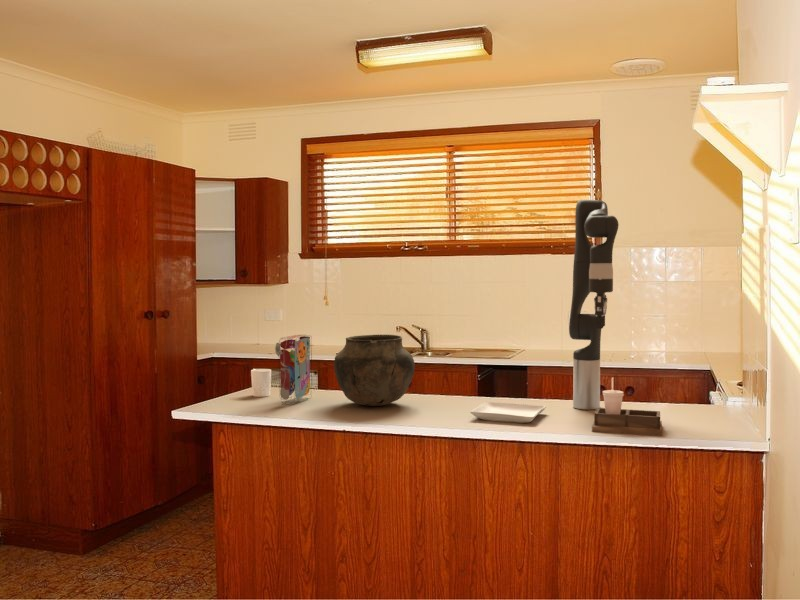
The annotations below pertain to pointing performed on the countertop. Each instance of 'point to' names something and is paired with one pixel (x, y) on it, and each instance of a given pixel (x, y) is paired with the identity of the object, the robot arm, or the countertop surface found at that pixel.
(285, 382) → the box
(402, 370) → the pot
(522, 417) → the salad plate
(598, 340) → the robot arm
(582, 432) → the countertop surface
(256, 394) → the white cup
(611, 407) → the smoothie
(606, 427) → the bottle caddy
